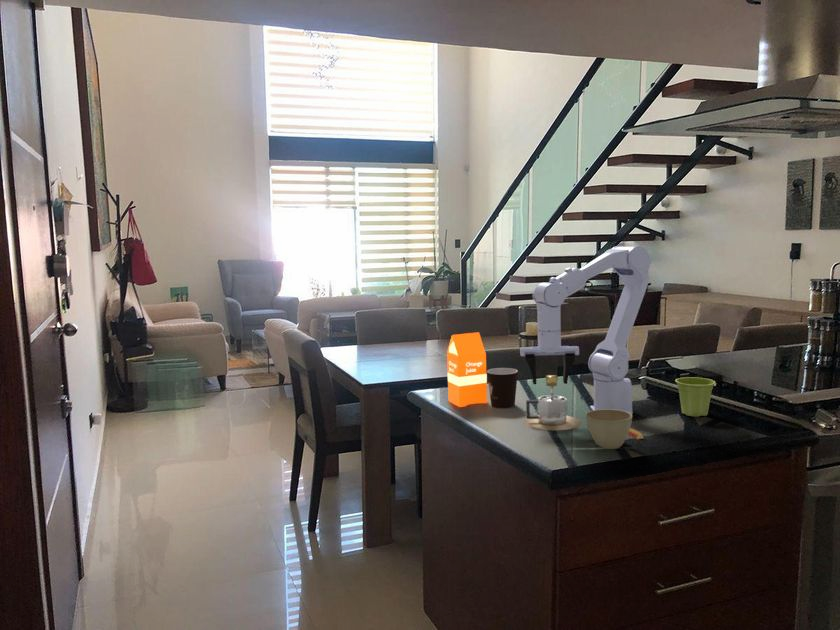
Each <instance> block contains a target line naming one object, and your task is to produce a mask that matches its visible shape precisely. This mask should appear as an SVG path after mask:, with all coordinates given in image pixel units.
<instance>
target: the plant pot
mask: <svg viewBox="0 0 840 630" xmlns="http://www.w3.org/2000/svg"><path fill="white" fill-rule="evenodd" d="M674 381H675V383H676V385H677V389H678V393H679V401H680V409H681V413H682V415H683V414H684V415H686V416H688V417H694V418H696V417H697V418H698V417H701V416H703V417H706V416H708V415H709V408H710V402H711V396H712V390H713V388H714V386H715V385H716V381H715V380H713V379H710V378H705V377H704V378H703V377H694V376H693V377H692V376H691V377H689V376H687V377H684V376H683V377H680V378H676V379H675V380H674Z"/></svg>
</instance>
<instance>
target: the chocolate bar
mask: <svg viewBox="0 0 840 630" xmlns="http://www.w3.org/2000/svg"><path fill="white" fill-rule="evenodd" d="M627 436H630V437H632V438H634V439H635V440H642V439H645V438H644V436H643V434H642V433H641V432H640V431H638V430H636V429H634V428H632V427H630V430H629V433H628V435H627Z"/></svg>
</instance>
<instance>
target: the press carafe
mask: <svg viewBox="0 0 840 630" xmlns="http://www.w3.org/2000/svg"><path fill="white" fill-rule="evenodd" d="M547 397H551V394H548V395H546V394H545V395H541V396H538V397H536V399H527V400H526V403H525V404H526V407H525V408H526V419H538V422H539V423H540V424H542V425H547V426H560V425H564V424H566V423H567V416H568V399H567V397H566V396H563V395H558V394H553V397H557V398H561V399H563V400H562V401H559V402H547V401H542V399H543V398H547ZM530 404H536V405H537V406H536V407H537V408H536V409H537V415H538V416H536V415H531V413H530V412H531V411H530V410H531V409H530Z"/></svg>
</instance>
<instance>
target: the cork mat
mask: <svg viewBox="0 0 840 630" xmlns="http://www.w3.org/2000/svg"><path fill="white" fill-rule="evenodd" d="M535 416H538V414H537V415H535ZM523 422H524V424H525V425H526V426H527V427H530V428H532V429H537V430H542V431H565V430H573V429H575V428H578V427H580V426H581V424H582V421H581V420H580V419H578V418H576V417H574V416H571V415H567V423H566V424H564V425H560V426H547V425H542V424H540V423H539V422H538V419H527V418H525V419H524V420H523Z"/></svg>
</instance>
